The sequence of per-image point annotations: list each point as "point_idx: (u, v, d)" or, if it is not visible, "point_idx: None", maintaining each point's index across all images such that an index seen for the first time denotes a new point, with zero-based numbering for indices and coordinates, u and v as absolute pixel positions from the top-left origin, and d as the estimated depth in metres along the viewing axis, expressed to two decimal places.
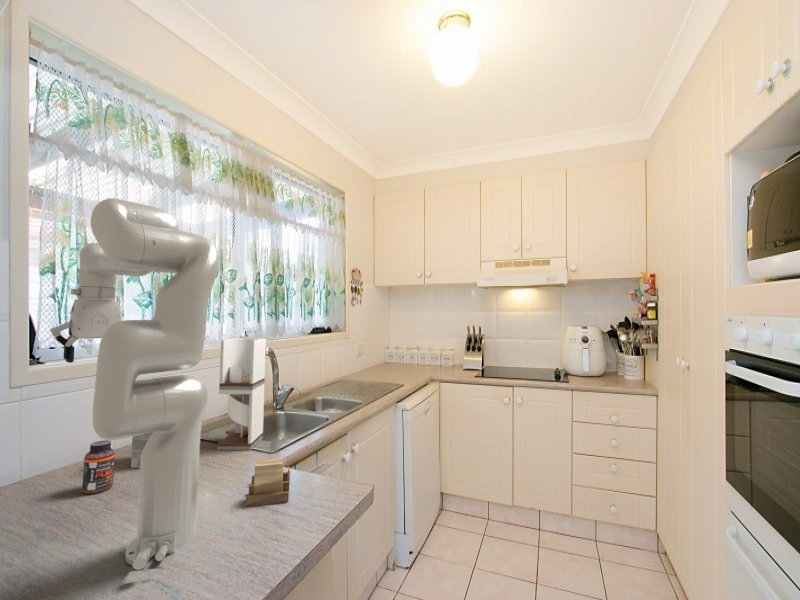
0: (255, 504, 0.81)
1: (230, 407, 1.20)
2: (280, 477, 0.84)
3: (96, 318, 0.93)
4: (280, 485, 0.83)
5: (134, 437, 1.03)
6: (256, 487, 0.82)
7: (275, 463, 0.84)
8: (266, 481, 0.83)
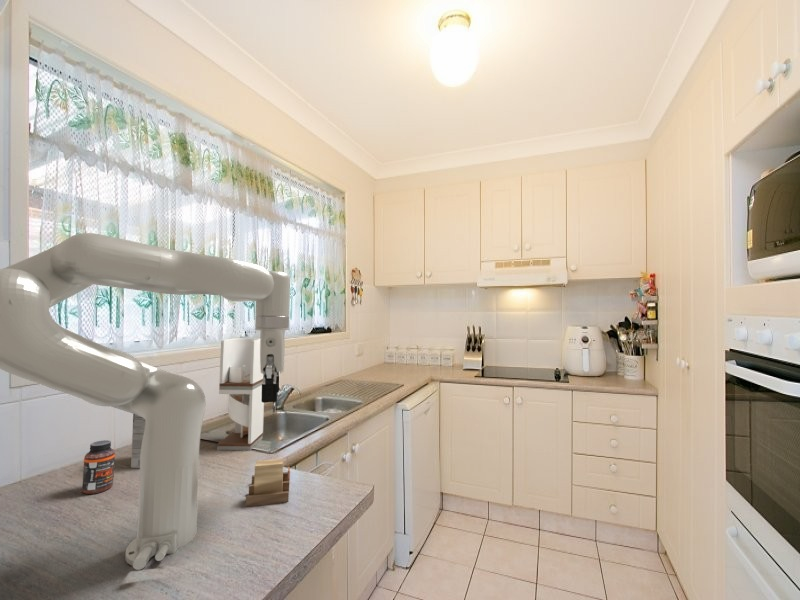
0: (255, 504, 0.81)
1: (230, 407, 1.20)
2: (280, 477, 0.84)
3: None
4: (280, 485, 0.83)
5: (134, 437, 1.03)
6: (256, 487, 0.82)
7: (275, 463, 0.84)
8: (266, 481, 0.83)
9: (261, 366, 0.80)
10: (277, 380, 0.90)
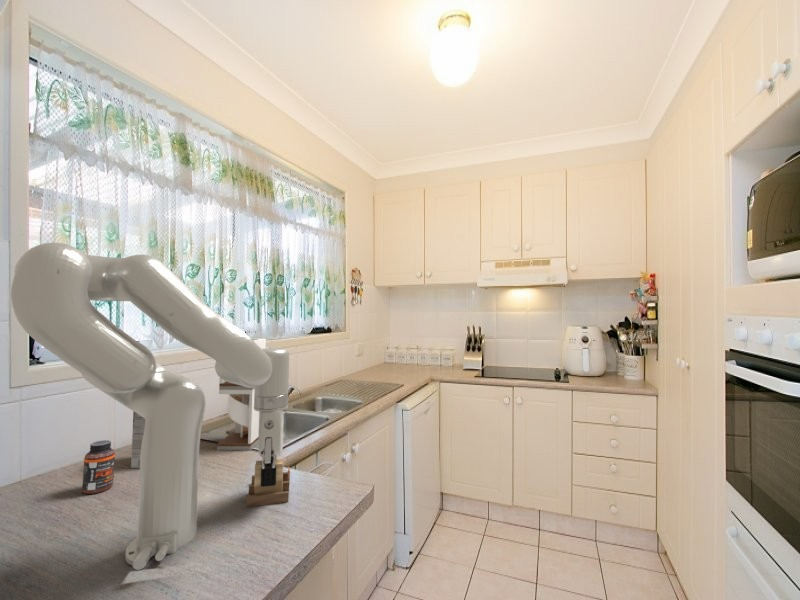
0: (255, 504, 0.81)
1: (230, 407, 1.20)
2: (280, 477, 0.84)
3: None
4: (280, 485, 0.83)
5: (134, 437, 1.03)
6: (256, 487, 0.82)
7: (275, 463, 0.84)
8: None
9: (259, 449, 0.80)
10: None
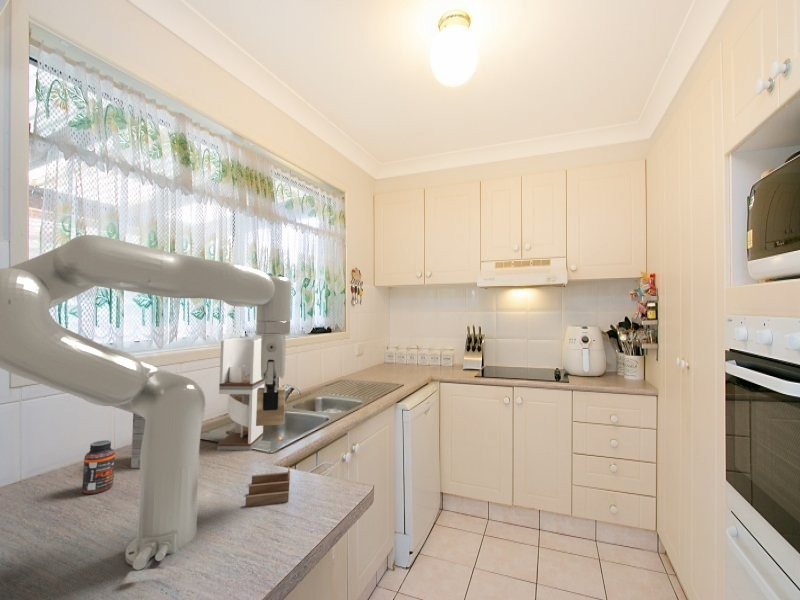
0: (255, 504, 0.81)
1: (230, 407, 1.20)
2: (282, 402, 0.84)
3: None
4: (282, 410, 0.84)
5: (134, 437, 1.03)
6: (258, 411, 0.83)
7: (277, 389, 0.85)
8: None
9: (262, 371, 0.80)
10: None
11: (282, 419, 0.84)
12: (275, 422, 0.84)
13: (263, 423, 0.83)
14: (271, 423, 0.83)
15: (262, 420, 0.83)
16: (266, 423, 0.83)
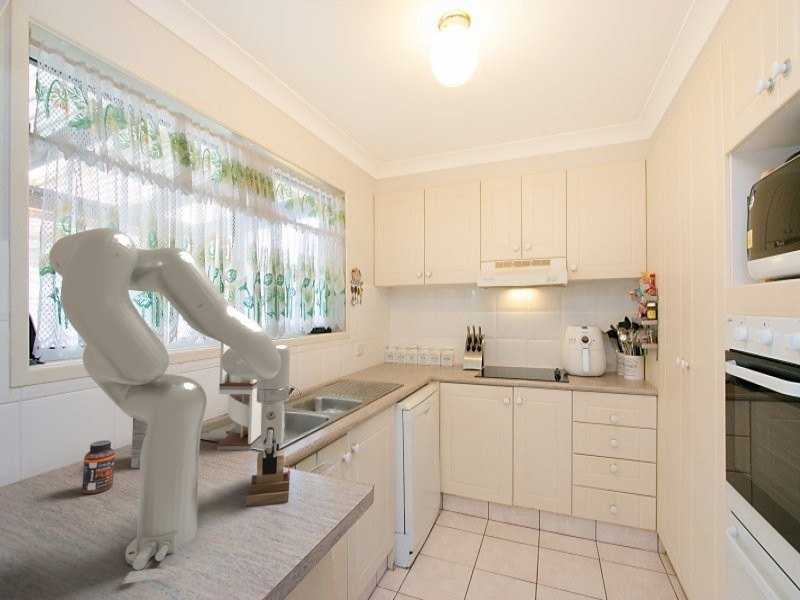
0: (255, 504, 0.81)
1: (230, 407, 1.20)
2: (281, 468, 0.89)
3: None
4: (281, 475, 0.89)
5: (134, 437, 1.03)
6: (258, 477, 0.87)
7: (276, 454, 0.89)
8: None
9: (262, 439, 0.85)
10: (277, 448, 0.93)
11: None
12: None
13: None
14: None
15: None
16: None
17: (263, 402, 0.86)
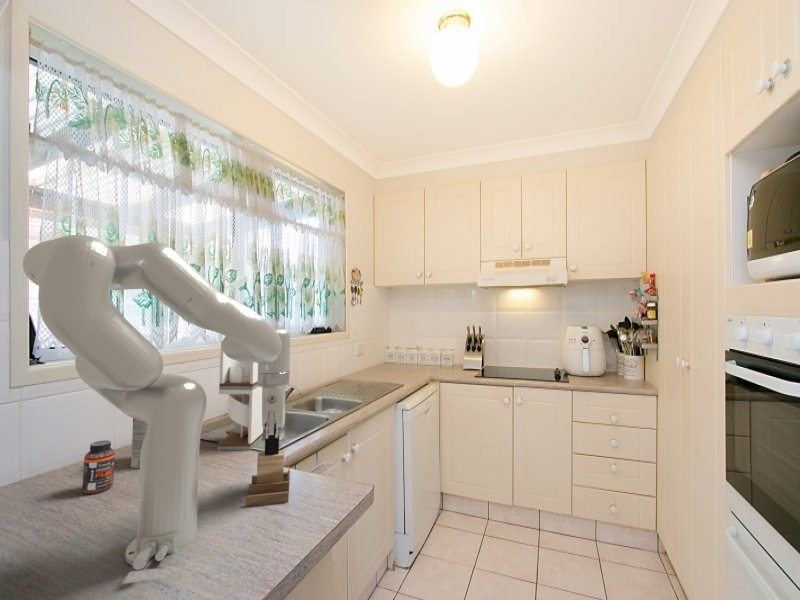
0: (255, 504, 0.81)
1: (230, 407, 1.20)
2: (281, 468, 0.89)
3: None
4: (281, 475, 0.89)
5: (134, 437, 1.03)
6: (258, 477, 0.87)
7: (276, 454, 0.89)
8: (268, 471, 0.88)
9: (263, 422, 0.85)
10: None
11: None
12: None
13: None
14: None
15: None
16: None
17: (264, 386, 0.87)
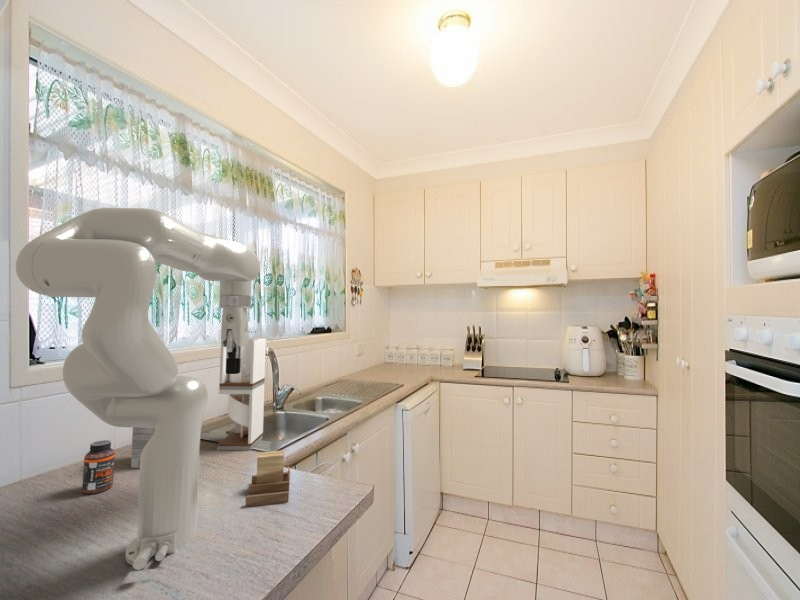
0: (255, 504, 0.81)
1: (230, 407, 1.20)
2: (281, 468, 0.89)
3: (245, 326, 0.95)
4: (281, 475, 0.89)
5: (134, 437, 1.03)
6: (258, 477, 0.87)
7: (276, 454, 0.89)
8: (268, 471, 0.88)
9: (221, 339, 0.90)
10: None
11: None
12: None
13: None
14: None
15: None
16: None
17: (224, 307, 0.92)
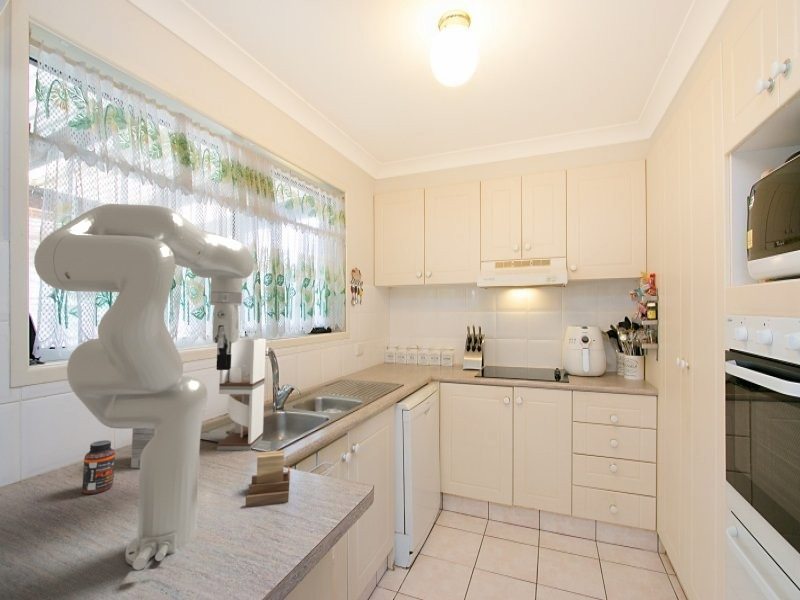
0: (255, 504, 0.81)
1: (230, 407, 1.20)
2: (281, 468, 0.89)
3: (236, 323, 0.96)
4: (281, 475, 0.89)
5: (134, 437, 1.03)
6: (258, 477, 0.87)
7: (276, 454, 0.89)
8: (268, 471, 0.88)
9: (213, 335, 0.91)
10: None
11: None
12: None
13: None
14: None
15: None
16: None
17: (215, 303, 0.93)
